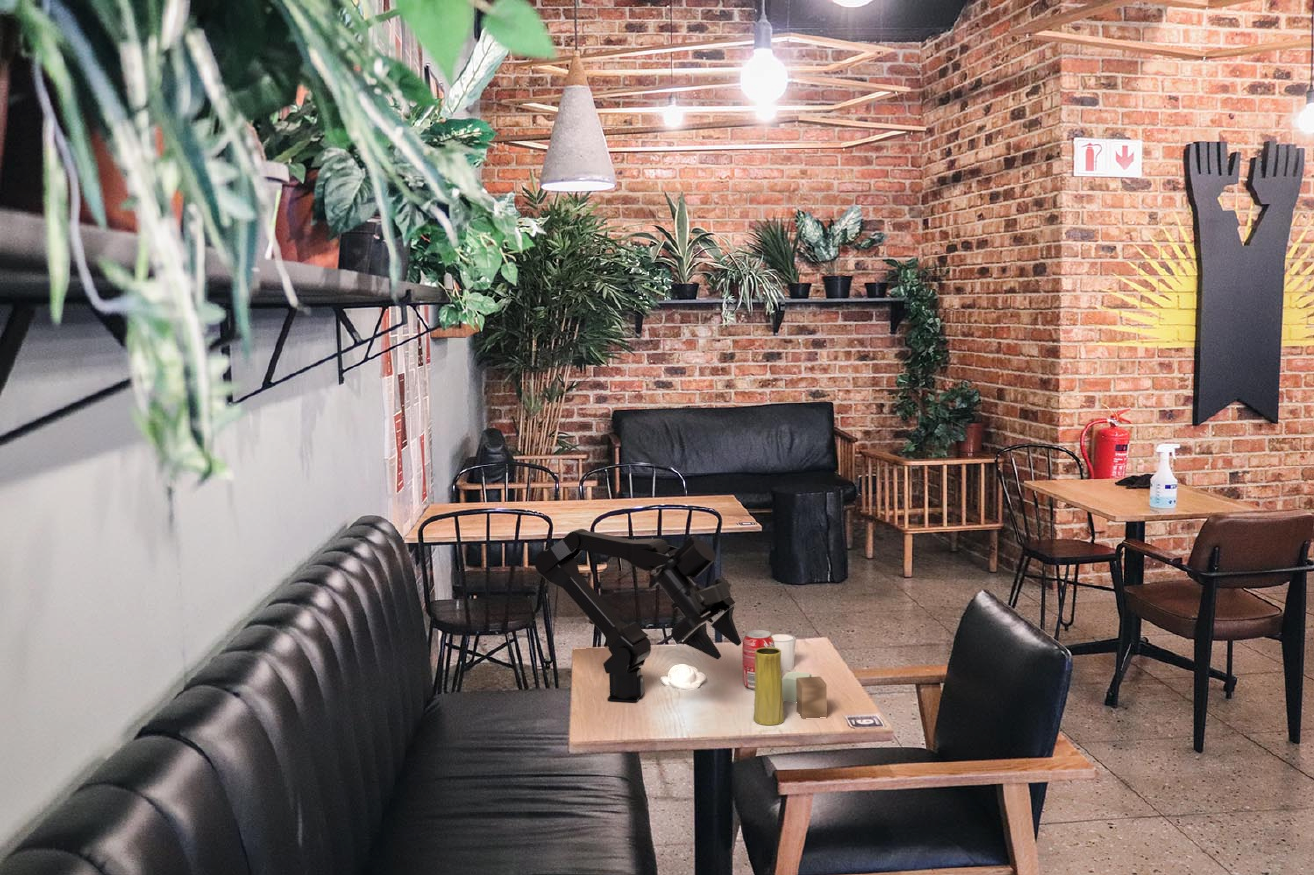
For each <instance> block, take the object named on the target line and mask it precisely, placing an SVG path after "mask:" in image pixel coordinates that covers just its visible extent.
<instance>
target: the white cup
mask: <svg viewBox="0 0 1314 875" xmlns="http://www.w3.org/2000/svg"><path fill="white" fill-rule="evenodd" d="M771 636H772V638H773V640H774V645H775V648H778V649H780V650H781V672H786V671H787V672H788V671H791V670H793V669H794V666H795V656H796V654H795V653H796V642H797V641H796V640H797V638H796V637H795V636H794V635H791V634H787V633H786V634H785V633H783V634H782V633H776V634H772V635H771Z"/></svg>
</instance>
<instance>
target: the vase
mask: <svg viewBox="0 0 1314 875" xmlns="http://www.w3.org/2000/svg"><path fill="white" fill-rule="evenodd" d="M782 678H783V676H782V671H781V650H780V649H778V648H773V647H762V648H758V649H756V650H755V690H754V704H753V706H754V710H753V721H754V722H755V723H756V724H759V725H761V726H778V725H780V724H782V723H783V722H784V721H785V716H784V701H783V695H782Z"/></svg>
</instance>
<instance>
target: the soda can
mask: <svg viewBox="0 0 1314 875" xmlns="http://www.w3.org/2000/svg"><path fill="white" fill-rule="evenodd" d="M744 635H745V636H744V637H743V639H742V653H741V654H742V655H741V656H742V659H741V660H742V681H743V685H744V686H745V687H746V688H748V689H749V690H750V691H751V690H752V691H755V650H756V649H758V648H762V647H773V648H775V645H774V640H773V638H772V636H771V635H773V634H772V632H771V631H768V630H765V629H754V630H753V629H752V630H748V631H746V632H745V633H744Z"/></svg>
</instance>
